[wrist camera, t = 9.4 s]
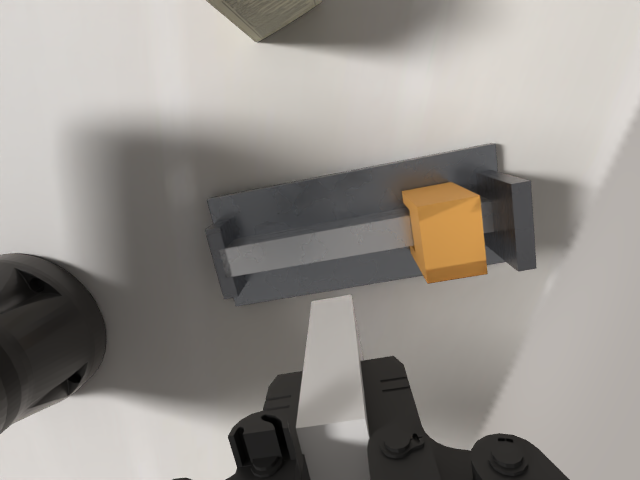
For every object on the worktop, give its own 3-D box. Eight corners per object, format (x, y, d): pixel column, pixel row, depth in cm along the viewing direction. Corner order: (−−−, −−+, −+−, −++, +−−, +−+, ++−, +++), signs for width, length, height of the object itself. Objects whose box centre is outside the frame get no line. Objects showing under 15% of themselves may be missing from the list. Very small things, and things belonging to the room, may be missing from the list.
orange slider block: (410, 253, 34) (427, 283, 27) (401, 191, 33) (417, 207, 26) (458, 245, 34) (487, 273, 27) (451, 181, 32) (479, 195, 26)
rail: (238, 301, 38) (211, 346, 30) (210, 197, 35) (173, 216, 27) (501, 258, 35) (545, 294, 27) (490, 143, 33) (536, 147, 25)
